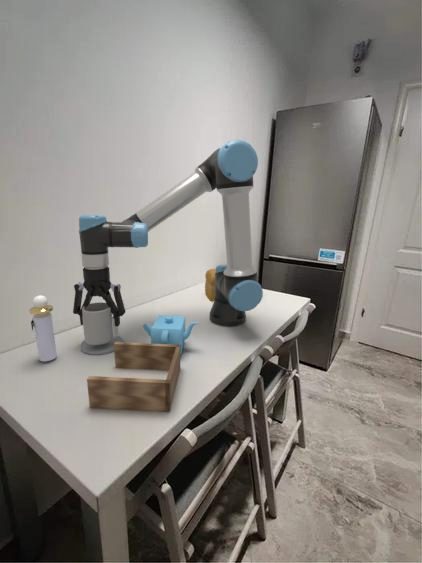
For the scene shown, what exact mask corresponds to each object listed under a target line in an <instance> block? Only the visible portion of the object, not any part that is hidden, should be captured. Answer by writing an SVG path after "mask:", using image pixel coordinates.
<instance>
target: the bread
mask: <svg viewBox="0 0 422 563" xmlns="http://www.w3.org/2000/svg"><path fill="white" fill-rule="evenodd" d="M215 271H216V268H211V269H210V268H209V269H207V271H206V272H205V275H204V276H205V283H204V292H205V296H206V298H207V299H208V300H209V301H210V302H214V295H215ZM258 278H259V276H257V282H259V281H258V280H259V279H258Z"/></svg>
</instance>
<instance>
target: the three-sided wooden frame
mask: <svg viewBox="0 0 422 563" xmlns="http://www.w3.org/2000/svg"><path fill="white" fill-rule="evenodd" d="M113 354H114V366H115V368H117V369H118V368H119V369H133V370H134V369H135V370H137V369H138V370H158V371H160V370H161V371H168V373H167V375H166V379H157V378H141V377H140V378H138V377H137V378H136V377H120V376H119V377H118V376H117V377H116V376H115V377H114V376H101V375H100V376H98V375H96V376H94V375H89V376H88V377H87V378H86V383H87V393H88V404H89V408H92V409H93V408H94V409H114V410H130V411H131V410H133V411H134V410H135V411H147V412H148V411H149V412H151V411H152V412H168V413H169V412H171V408H172V404H173V399H174V397H175V392H176V387H177V383H178V380H179V375H180V371H181V355H180V345H171V344H151V343H150V342H149V343H146V342H145V343H144V342H128V341H127V342H125V341H123V342H115V343H114V353H113Z"/></svg>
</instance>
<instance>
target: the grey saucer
mask: <svg viewBox="0 0 422 563" xmlns="http://www.w3.org/2000/svg"><path fill="white" fill-rule="evenodd" d="M115 342H124V340H123V337H121V336H120V335H118V334H117V335H116V336H115V337H113V339H112V340H111V341H109V342H108V343H105V344H101V345H90V344H87V343H86V342H85V339H84V340H83V341H82V342H81V343H80V346H79V348H80V351H81V352H82V353H83V354H85V355H90V356H102V355H107V354H112V353H113V352H114V343H115Z"/></svg>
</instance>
